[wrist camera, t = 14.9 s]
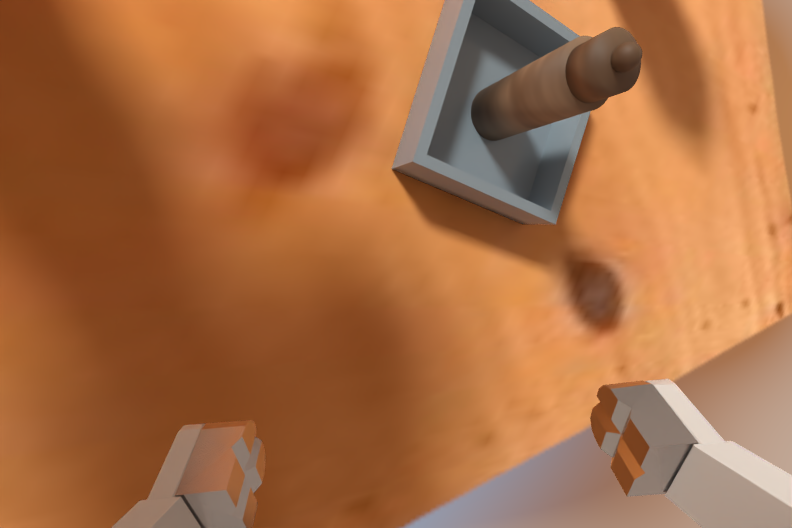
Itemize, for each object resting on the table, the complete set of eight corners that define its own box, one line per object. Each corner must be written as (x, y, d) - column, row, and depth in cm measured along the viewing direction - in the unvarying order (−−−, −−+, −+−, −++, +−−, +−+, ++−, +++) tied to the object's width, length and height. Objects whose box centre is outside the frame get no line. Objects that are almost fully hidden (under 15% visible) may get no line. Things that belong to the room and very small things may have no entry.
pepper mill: (480, 77, 30) (623, -9, 19) (520, 101, 31) (675, 33, 20) (464, 128, 30) (598, 71, 19) (505, 148, 31) (653, 107, 20)
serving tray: (446, -7, 29) (475, -38, 26) (569, 73, 34) (607, 55, 30) (391, 168, 29) (412, 161, 25) (522, 224, 34) (555, 224, 30)
